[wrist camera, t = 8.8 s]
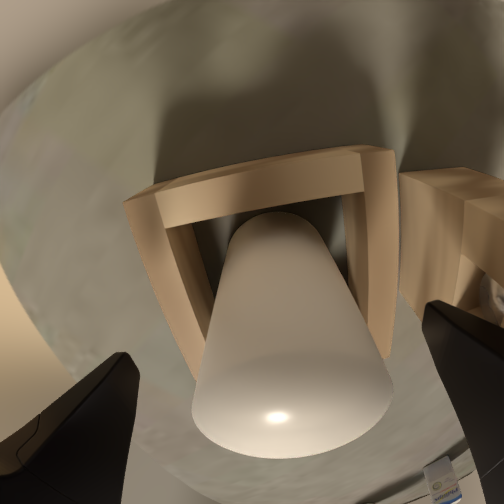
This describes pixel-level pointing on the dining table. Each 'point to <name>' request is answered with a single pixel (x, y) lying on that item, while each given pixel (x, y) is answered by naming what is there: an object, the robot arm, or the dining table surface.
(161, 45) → the dining table surface
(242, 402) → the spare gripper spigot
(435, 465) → the medicine box
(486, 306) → the lock pin
